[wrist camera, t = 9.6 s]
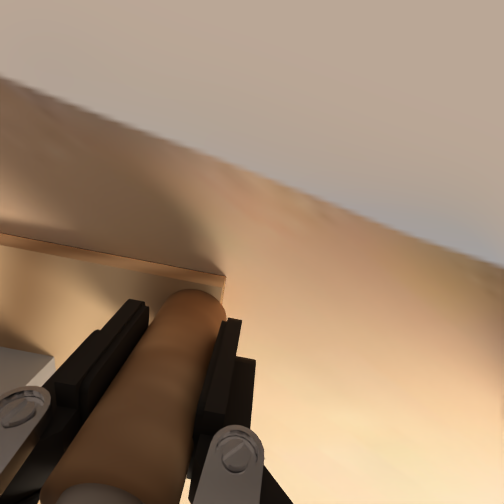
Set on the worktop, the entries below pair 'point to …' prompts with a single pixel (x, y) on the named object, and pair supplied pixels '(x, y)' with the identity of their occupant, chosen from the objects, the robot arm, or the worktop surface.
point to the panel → (78, 292)
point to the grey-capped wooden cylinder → (144, 414)
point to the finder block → (23, 369)
